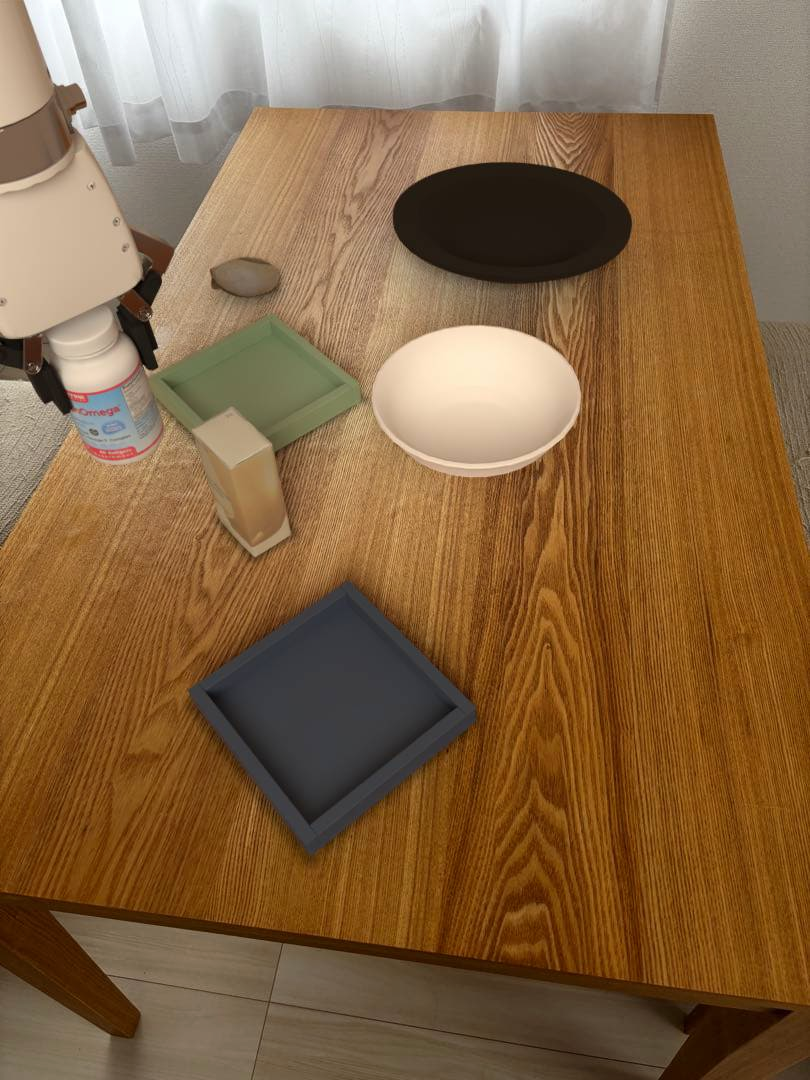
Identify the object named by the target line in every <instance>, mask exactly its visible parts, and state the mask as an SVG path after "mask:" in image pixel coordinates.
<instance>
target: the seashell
mask: <svg viewBox="0 0 810 1080" xmlns="http://www.w3.org/2000/svg"><path fill="white" fill-rule="evenodd" d="M209 273H210V279H211V280H210V286H211V289H213V290H217V291H219V290H221V291H222V292H224V293H226V294H228V295H231V296H234V297H239V298H256V297H261V296H264V295H265V294H269V293H270V292H273V290H274V289H276V287H277V286H279V282H280V278H281V273H280V272H279V270H278V269H277V267H276V266H274V265H273V264H271V263H270V262H269V261H266V260H264V259H260V258H256V257H249V256H244V257H243V256H242V257H236V258H232V259H230V260H228V261H227V262H225V263H221V264H219V265H217V266H214V267H210V268H209Z"/></svg>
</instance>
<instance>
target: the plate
mask: <svg viewBox="0 0 810 1080" xmlns="http://www.w3.org/2000/svg"><path fill="white" fill-rule="evenodd" d="M392 225H393V230H394V233H395V235H396V237H397V238H398V240H399V241H400V242H401V244H402V245H403V246H404V247H405V248H406V250H408V251H409V252H410V253H411V254H413V255H414V256H416V257H417V258H418V259H420V260H422V261H423V262H426V263H427V264H429V265H431V266H433V267H435V268H438V269H440V270H444V271H446V272H449V273H452V274H456V275H459V276H462V277H466V278H470V279H473V280H478V281H483V282H488V283H496V284H507V285H510V284H511V285H525V284H526V285H528V284H537V283H546V282H553V281H559V280H564V279H569V278H574V277H576V276H577V277H578V276H581V275H583V274H587V273H589V272H592V271H594V270H596V269H599V268H601V267H602V266H604V265H606V264H608V263H609V262H611V261H612V260H614V259H615V258H617V256H618V255H620V254H621V253H622V252H623V251H624V249H625V248H626V246H627V245H628V243H629V240H630V238H631V234H632V228H633V219H632V214H631V213H630V209H629V208H628V206H627V204H626V203H625V201H623V200H622V198H621V197H619V195H618V194H616V193H615V192H614V191H612V190H611V189H610V188H608V187H607V186H605V185H603V184H602V183H601V182H598V181H596V180H594V179H592V178H590V177H587V176H586V175H583V174H579V173H577V172H574V171H571V170H567V169H563V168H560V167H556V166H550V165H546V164H545V165H544V164H537V163H529V162H516V161H492V162H478V163H471V164H465V165H459V166H455V167H451V168H447V169H443V170H440V171H437V172H434V173H432V174H430V175H426V176H425V177H423V178H421V179H419V180H417V181H415V182H414V183H413V184H411V185H410V186H409V187H407V188H406V189H405V190H404V191H403V192H401V194H400V195H399V197H398V198H397V199H396V201H395V204H394V205H393V209H392Z"/></svg>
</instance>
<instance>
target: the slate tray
mask: <svg viewBox="0 0 810 1080" xmlns="http://www.w3.org/2000/svg"><path fill="white" fill-rule="evenodd" d="M187 692H188V694H189V696H190V698H191V700H192V703H193V704H194V706H195V707H196V708H197V710H198V711H199V712H200V714H201V715H202V716H203V717H204V719H205V720H206V722H207V723H208V724H209V726H210V727H211V728H212V729H213V731H214V732H215V733H216V735H217V736H218V737H219V739H221V740H220V741H222V743H223V744H224V745H225V746H226V748H227V750H229V752H230V753H231V754H232V755H233V757H234V759H236V762H238V763H239V765H240V766H241V768H242V769H243V770H244V772H246V774H247V776H249V778H250V779H251V781H252V782H253V783H254V784H255V786H256V787H257V788H258V790H259V791H260V792H261V794H262V795H263V797H265V799H266V800H267V802H268V803H269V804H270V805H271V807H272V808H273V809H274V810H275V812H276V813H277V815H278V816H279V818H280V819H281V820H282V821H283V822H284V824H285V825H286V826H287V828H288V829H289V830H290V832H291V833H292V834H293V836H294V837H295V838H296V840H297V841H298V842H299V843H300V845H301V846H302V847H303V848H304V850H305V851H306V853H307V854H308V855H309V856H310V857H312V856H314V855H315V854H316V853H317V852H319V850H321V849H322V848H324V847H325V846H326V845H327V844H328V843H330V842H331V841H332V840H333V839H334V838H336V837H337V836H338V835H339V834H341V833H342V832H343V831H344V830H345V829H346V828H348V827H349V826H350V825H352V824H353V823H354V822H356V820H358V819H359V818H360V817H362V816H363V815H364V814H365V813H366V812H367V811H369V810H370V809H371V808H372V807H374V806H375V805H376V804H377V803H379V802H380V801H381V800H382V799H383V798H385V797H386V796H387V795H388V794H389V793H391V792H392V791H393V790H394V789H396V788H397V787H398V786H400V785H401V784H402V783H403V782H404V781H406V780H407V779H408V778H409V777H410V776H411V775H413V774H414V773H415V772H416V771H417V770H419V769H420V768H422V766H424V765H425V764H426V763H428V761H430V760H431V759H432V758H434V757H435V756H436V755H437V754H439V753H440V752H441V751H443V749H444V748H446V747H447V746H448V745H450V744H451V743H452V742H453V741H454V740H456V739H457V738H458V737H459V736H460V735H462V734H463V733H464V732H465V731H466V730H468V729H469V728H471V726H473V725H474V724H475V723H476V722H477V719H476V718H477V706H476V705H475V704H474V703H473V702H472V701H470V700H469V698H468V697H467V696H465V694H464V693H462V691H461V690H460V689H459V688H458V687H457V686H455V685H454V684H453V682H451V680H450V679H449V678H447V676H445V674H444V673H443V672H442V671H440V669H439V668H437V666H435V665H434V663H432V662H431V660H430V659H429V658H428V657H427V656H426V655H425V654H424V653H423V652H422V651H421V650H420V649H418V647H416V645H415V644H414V643H413V642H412V641H411V640H410V639H409V638H408V637H407V636H405V634H404V633H403V632H402V631H400V629H399V628H398V627H397V626H396V625H395V624H394V623H392V622H391V620H390V619H389V618H388V617H386V615H385V614H384V613H383V612H382V611H381V610H380V609H379V608H378V607H377V606H376V605H375V604H374V603H373V602H371V600H370V599H369V598H368V597H367V596H366V595H365V594H364V593H363V592H362V591H361V590H360V589H359V588H358V587H357V586H356V585H355V584H354V583H353V582H352V581H351V580H350V579H347V580H346V581H345V582H343V583H342V584H340V585H339V586H337V587H336V588H334V589H333V590H331V591H330V592H328V593H327V594H325V595H324V596H322V597H321V598H320V599H318V600H317V601H315V602H314V603H312V604H311V605H310V606H308V607H306V608H305V609H304V610H302V611H301V612H299V613H298V614H296V615H294V616H293V617H292V618H290V619H289V620H288V621H286V622H284V623H283V624H282V625H280V626H279V627H278V628H276V629H274V630H272V631H271V632H270V633H268V634H267V635H265V636H264V637H262V638H260V639H259V640H258V641H257V642H255V643H254V644H252V645H251V646H249V647H248V648H247V649H245V650H244V651H242V652H241V653H239V654H238V655H236V656H235V657H233V658H232V659H231V660H228V661H227V662H226V663H224V665H222V666H220V667H218V668H217V669H216V670H215V671H213V672H212V673H210V674H209V675H207V676H206V677H204V678H202V679H201V680H200V681H199V682H197V683H196V684H194V685H193V686H191V687H189V688H188V689H187Z"/></svg>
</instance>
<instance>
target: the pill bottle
mask: <svg viewBox="0 0 810 1080" xmlns="http://www.w3.org/2000/svg"><path fill="white" fill-rule="evenodd" d="M43 333H44V336H45V338H46V340H47V344H48V346H49V348H50V349H51V351H52V352H51V355H50V358H49V364H50V365H51V366H52V368H53V369H54V371H55V373H56V375H57V377H58V379H59V381H60V383H61V386H62V388H63V390H64V392H65V394H66V396H67V398H68V400H69V402H70V404H71V407H72V410H70V411H71V412H70V413H69V416H70V417H71V420H72V421H73V424H74V426H75V429H76V431H77V433H78V435H79V437H80V439H81V441H82V443H83V446H84V447H85V449H86V452H87V453H88V454H89V456H91V458H93V460H96V461H97V462H99V463H102V464H104V465H110V466H126V465H130V464H134V463H137V462H140V461H142V460H144V459H146V458H147V457H149V456H150V455H152V453H153V452H154V451H155V450H156V449H157V448H159V446H160V444H161V442H162V440H163V438H164V435H165V434H164V433H165V423H164V420H163V417H162V415H161V411H160V409H159V406H158V403H157V400H156V397H155V396H154V394H153V392H152V389H151V386H150V383H149V381H148V375H147V373H146V370H145V366H144V365H143V364H142V361H141V358H140V355H139V353H138V350H137V348H136V345H135V344H134V342H133V341H132V339H131V338H130V337H129V336H128V335H127V334H125V333H124V332H123V330H120V329H119V324H118V322H117V320H116V317H115V314H114V313H113V310H112V309H111V308H110V307H109V306H108V305H106V304H105V303H103V304H101V305H99V306H97V307H95V308H92V309H90V310H88V311H86V312H84V313H82V314H80V315H77V316H75V317H73V318H71V319H69V320H66V321H64V322H62V323H60V324H58V325H56V326H53V327H51V328H49V329H47V330H45V331H43Z"/></svg>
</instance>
